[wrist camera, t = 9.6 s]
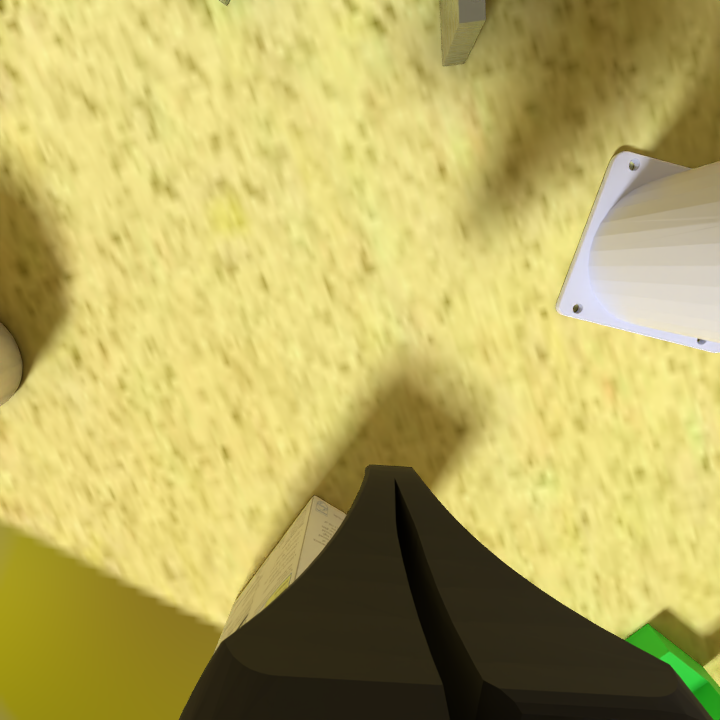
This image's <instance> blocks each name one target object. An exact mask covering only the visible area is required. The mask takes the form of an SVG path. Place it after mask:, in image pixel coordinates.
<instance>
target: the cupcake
mask: <svg viewBox="0 0 720 720" xmlns="http://www.w3.org/2000/svg"><path fill="white" fill-rule="evenodd" d="M22 365H23V362H22V358H21V355H20V351H19V348H18V346H17V344H16V342H15V340H14V338H13V336H12V335H11V333H10V332H9V331H8V330H7V329H6V328H5V326H4V325H3V324H2V323H1V322H0V406H1V405H3V404H4V403H5V402H7V401H8V400H9V399H10V398H11V396H12V395H13V394H14V392H15V391H16V390H17V388H18V387H19V384H20V381H21V377H22Z"/></svg>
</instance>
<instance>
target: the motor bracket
mask: <svg viewBox="0 0 720 720" xmlns="http://www.w3.org/2000/svg"><path fill="white" fill-rule="evenodd" d="M220 1H221V2H222V3H224V4H225V5H226V6H227V5H228V3H229V0H220ZM440 19H441V40H442V62H443V66H448V65H455V64H462V63H465V61H466V59H467V57H468V55H469V53H470V51H471V49H472V47H473V45H474V43H475V41H476V39H477V37H478V35H479V33H480V31H481V29H482V27H483V24H484V22H485V20H486V8H485V0H440Z"/></svg>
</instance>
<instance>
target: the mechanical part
mask: <svg viewBox="0 0 720 720" xmlns="http://www.w3.org/2000/svg"><path fill="white" fill-rule="evenodd" d="M625 641H627V642H629V643H631V644H633V645H634V646H636V647H638V648H640V649H642V650H644V651H646V652H647V653H649V654H651V655H653V656H655V657H657V658H659V659H660V660H662V661H664V662H666V663H668V664H670V665H671V667H672V668H673V669H674V670H675V671H676V673H677V674H678V675H679V676H680V677H681V679H682V680H683V681H684V682H685V684H686V685H687V686H688V688H689V689H690V690H691V691H692V693H693V694H694V695H695V697H696V698H697V699H698V700H699V702H700V703H701V704H702V706H703V707H704V708H705V709H706V711H707V712H708V713H709V715H710V716H711V717H712V718H713V720H720V687H719V686H718V684H717V683H716V682H715V681H714V680H713V678H712V677H711V676H710V675H709V674H708V673H707V671H706V670H705V669H704V668H703V667H702V666H701V665H700V664H698V663H697V662H696V661H695V660H693V659H692V658H691V657H690V656H688V655H687V654H686V653H684V652H683V651H682V650H681V649H679V648H678V647H677V646H676V645H674V644H673V643H672V642H671V641H669V640H668V639H667V638H665V637H664V636H663V635H662V634H660V633H659V632H658V631H657V630H655V629H654V628H653V627H652V626H650V625H649V624H646V625H645V626H644V627H642V628H641V629H640V630H638V631H637V632H635V633H634V634H633V635H631V636H630V637H629V638H627V639H626V640H625Z"/></svg>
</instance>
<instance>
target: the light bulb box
mask: <svg viewBox="0 0 720 720" xmlns="http://www.w3.org/2000/svg"><path fill="white" fill-rule="evenodd" d="M346 515H347V514H345V513H344V512H342V511H340V510H338V509H337V508H335V507H334V506H332V505H330V504H329V503H327V502H325V501H324V500H322V499H320V498H319V497H317V496H315V495H314V496H313V497H312V498H311V500H310V501H309V502H308V504H307V505H306V506H305V508H304V509H303V510H302V512H301V513H300V514H299V516H298V517H297V518H296V520H295V521H294V522H293V524H292V525H291V527H290V528H289V529H288V531H287V532H286V533H285V535H284V536H283V537H282V539H281V540H280V542H279V543H278V544H277V546H276V547H275V548H274V550H273V551H272V552H271V554H270V555H269V556H268V558H267V559H266V560H265V562H264V563H263V564H262V566H261V567H260V569H259V570H258V571H257V573H256V574H255V575H254V577H253V578H252V579H251V581H250V582H249V583H248V585H247V586H246V588H245V589H244V590H243V592H242V593H241V594H240V596H239V597H238V598H237V600H236V601H235V602H234V604H233V606H232V609H231V612H230V614H229V617H228V619H227V621H226V624H225V627H224V629H223V632H222V634H221V637H220V639H219V642H218V645H217V647H216V649H215V651H216V650H217V648H218V646H219V645H220V643H221V642H222V641H223V640H224V639H226V638H227V637H228V636H230V635H231V634H232V633H234V632H235V631H236V630H238V629H239V628H240V627H241V626H243V625H244V624H245V623H247V622H248V621H249V620H250V619H252V618H253V617H254V616H256V615H257V614H258V613H259V612H261V611H262V610H263V609H264V608H265V607H267V606H268V605H269V604H270V603H271V602H272V601H273V600H274V599H276V598H277V597H278V596H279V595H280V594H281V593H282V592H283V591H284V590H285V589H286V588H287V587H288V586H289V585H290V584H292V583H293V582H294V581H295V580H296V579H297V578H298V577H299V576H300V575H301V574H302V573H303V572H304V570H305V569H306V568H307V567H308V566H309V565H310V564H311V563H312V561H313V560H314V559H315V558H316V557H317V556H318V555H319V553H320V552H321V551H322V550H323V549H324V547H325V546H326V545H327V543H328V542H329V541H330V539H331V538H332V537H333V535H334V534H335V532H336V531H337V529H338V528H339V526H340V525H341V523H342V522H343V520H344V518H345V517H346ZM214 653H215V652H214Z"/></svg>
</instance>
